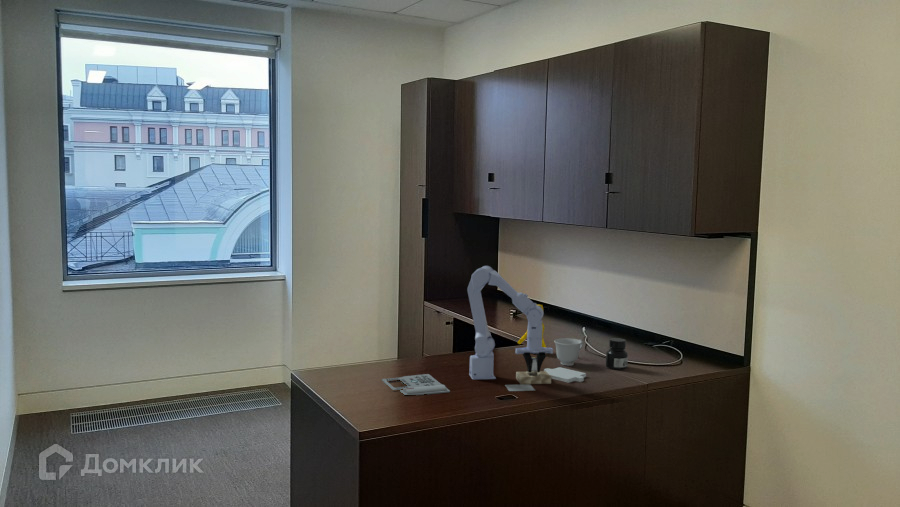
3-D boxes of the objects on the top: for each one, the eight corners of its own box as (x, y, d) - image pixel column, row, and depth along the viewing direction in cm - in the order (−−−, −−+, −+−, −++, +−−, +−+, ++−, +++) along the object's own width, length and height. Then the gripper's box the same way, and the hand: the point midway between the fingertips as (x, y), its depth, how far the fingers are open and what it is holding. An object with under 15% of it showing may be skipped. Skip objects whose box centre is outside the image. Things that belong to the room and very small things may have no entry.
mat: (509, 391, 262) (509, 391, 262) (504, 385, 270) (504, 384, 270) (535, 391, 264) (535, 390, 264) (529, 385, 272) (530, 384, 272)
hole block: (520, 384, 272) (520, 377, 271) (515, 379, 279) (516, 371, 279) (551, 384, 273) (551, 376, 273) (545, 378, 281) (545, 371, 281)
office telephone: (451, 387, 261) (399, 392, 253) (450, 394, 261) (399, 399, 253) (428, 370, 282) (380, 374, 274) (428, 377, 282) (380, 381, 275)
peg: (530, 379, 274) (530, 359, 274) (529, 376, 277) (530, 357, 276) (537, 379, 274) (538, 359, 273) (537, 377, 277) (537, 357, 276)
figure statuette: (514, 350, 328) (515, 303, 326) (525, 347, 333) (526, 301, 331) (543, 357, 315) (545, 308, 313) (555, 354, 320) (556, 306, 318)
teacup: (592, 364, 304) (592, 341, 303) (566, 369, 296) (567, 345, 295) (572, 358, 314) (572, 336, 313) (547, 362, 306) (547, 340, 305)
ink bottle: (618, 371, 293) (619, 343, 292) (600, 367, 300) (602, 339, 299) (631, 367, 300) (633, 340, 299) (614, 363, 306) (615, 336, 305)
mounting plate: (591, 379, 283) (591, 374, 283) (573, 385, 273) (573, 380, 273) (554, 370, 295) (554, 365, 295) (535, 376, 286) (535, 371, 286)
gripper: (518, 339, 270) (517, 374, 271) (555, 339, 272) (554, 373, 273) (514, 335, 277) (513, 369, 278) (550, 335, 279) (549, 369, 280)
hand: (533, 371), depth 276 cm, fingers closed on peg, 3 cm apart
